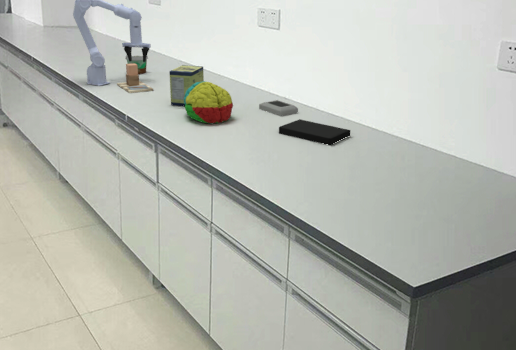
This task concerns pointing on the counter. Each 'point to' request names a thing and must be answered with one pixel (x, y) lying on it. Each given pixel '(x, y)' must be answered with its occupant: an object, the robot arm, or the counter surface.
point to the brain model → (208, 103)
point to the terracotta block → (131, 69)
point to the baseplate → (134, 85)
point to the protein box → (183, 82)
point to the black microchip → (314, 131)
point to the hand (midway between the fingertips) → (137, 61)
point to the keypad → (278, 108)
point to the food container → (138, 63)
